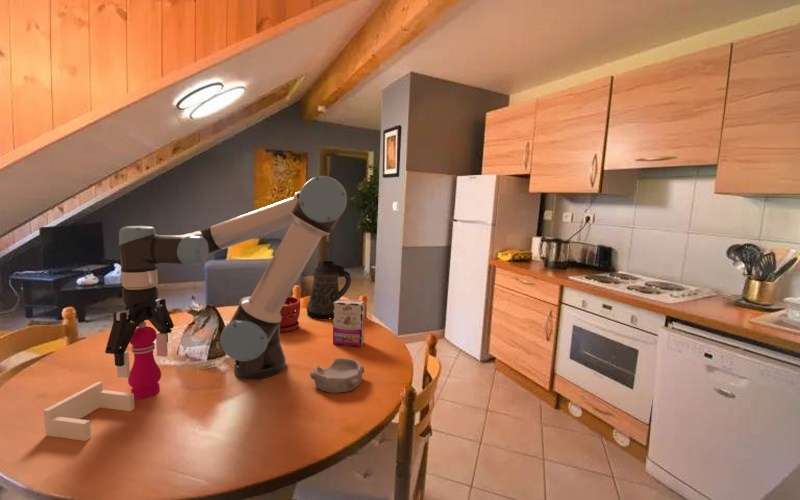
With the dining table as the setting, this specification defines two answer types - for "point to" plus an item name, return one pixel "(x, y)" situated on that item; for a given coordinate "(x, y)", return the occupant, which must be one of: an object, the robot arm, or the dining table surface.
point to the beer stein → (326, 289)
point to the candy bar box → (348, 322)
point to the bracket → (83, 411)
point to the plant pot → (290, 314)
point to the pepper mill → (144, 363)
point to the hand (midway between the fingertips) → (144, 365)
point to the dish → (338, 376)
